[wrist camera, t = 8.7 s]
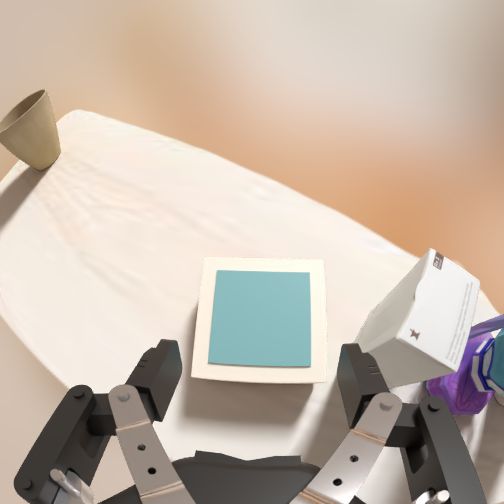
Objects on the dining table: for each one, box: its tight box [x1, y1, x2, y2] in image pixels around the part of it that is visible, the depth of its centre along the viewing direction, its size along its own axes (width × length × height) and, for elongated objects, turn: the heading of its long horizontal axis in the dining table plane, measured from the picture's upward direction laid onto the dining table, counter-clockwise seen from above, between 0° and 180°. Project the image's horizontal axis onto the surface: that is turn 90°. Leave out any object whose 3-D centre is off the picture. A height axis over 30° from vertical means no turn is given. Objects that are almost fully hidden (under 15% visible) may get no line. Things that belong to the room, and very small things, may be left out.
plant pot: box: [0, 89, 61, 171], centre depth 42 cm, size 15×15×16 cm
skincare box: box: [354, 248, 480, 389], centre depth 21 cm, size 8×6×15 cm
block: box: [191, 257, 327, 384], centre depth 27 cm, size 12×5×12 cm
